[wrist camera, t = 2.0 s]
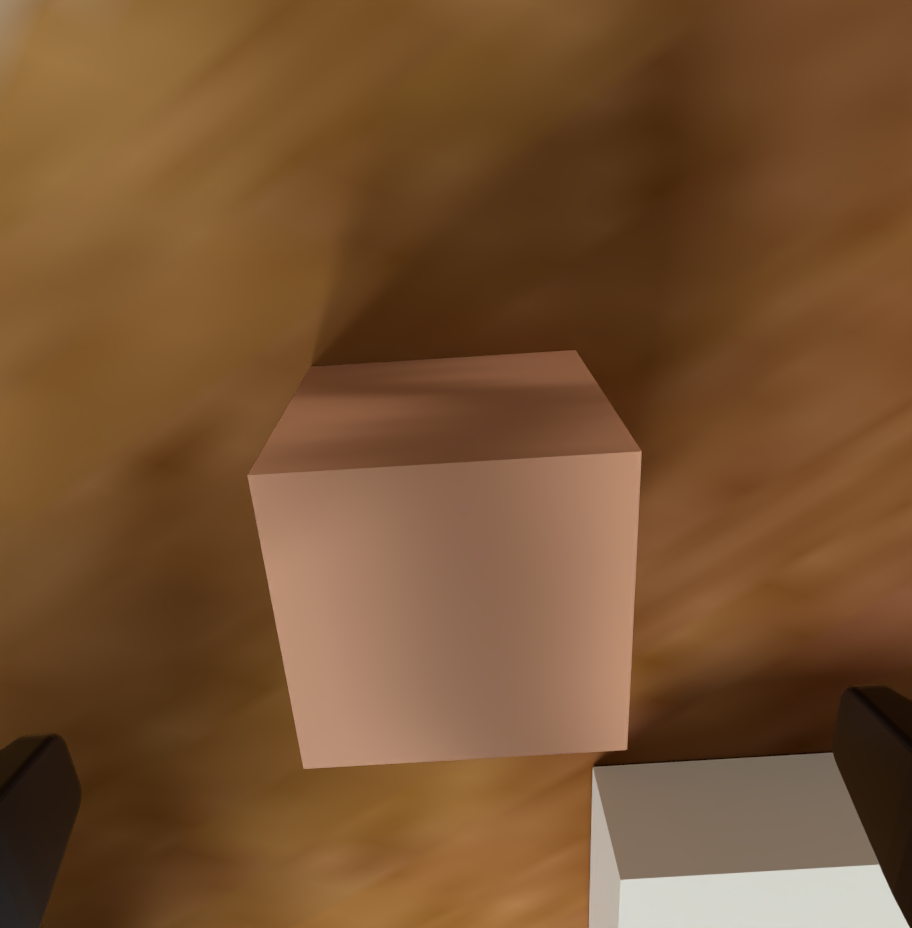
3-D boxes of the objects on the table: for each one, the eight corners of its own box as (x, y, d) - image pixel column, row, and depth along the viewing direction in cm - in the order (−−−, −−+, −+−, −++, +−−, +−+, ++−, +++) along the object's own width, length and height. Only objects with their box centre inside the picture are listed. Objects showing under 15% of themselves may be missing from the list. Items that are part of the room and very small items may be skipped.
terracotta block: (343, 588, 16) (303, 768, 11) (311, 365, 14) (247, 475, 9) (573, 574, 16) (627, 749, 11) (574, 348, 14) (641, 451, 9)
